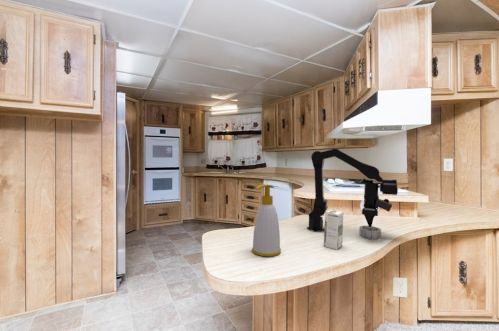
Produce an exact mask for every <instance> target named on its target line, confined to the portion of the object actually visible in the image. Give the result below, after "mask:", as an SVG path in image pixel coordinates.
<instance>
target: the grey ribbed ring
mask: <svg viewBox="0 0 499 331" xmlns="http://www.w3.org/2000/svg"><path fill="white" fill-rule="evenodd" d="M364 227H369V226H368V225H360V226H359V230H358V231H359V237H361V238H363V239H365V240H366V239H367V240H374V241H375V240H376V241H377V240H381V238H382V228H379V227H378V226H373V225H372V226H371V227H374V228H376V231H373V230H366V229H364Z"/></svg>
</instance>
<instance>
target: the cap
mask: <svg viewBox="0 0 499 331" xmlns="http://www.w3.org/2000/svg"><path fill="white" fill-rule="evenodd" d="M374 227H375V226H374ZM374 227H364V229H366V230H373V231H376V228H374Z"/></svg>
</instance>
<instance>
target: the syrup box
mask: <svg viewBox="0 0 499 331" xmlns="http://www.w3.org/2000/svg"><path fill="white" fill-rule="evenodd" d="M323 229H324V230H323V232H324V234H323V247H326V248H329V249H333V250H339V249H340V248H341V247H342V246H343V232H344V212H343V211H340V210H335V209H331V210H330V209H329V210H327V211H326V212H325V214H324V228H323Z"/></svg>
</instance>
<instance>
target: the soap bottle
mask: <svg viewBox="0 0 499 331" xmlns="http://www.w3.org/2000/svg"><path fill="white" fill-rule="evenodd" d="M262 188H263V189H264V195H261V204H260V205H259V206H258V208H257V209H258V210H257V212H256V216H255V221H254V229H253V235H252V236H253V237H252V238H253V241H252V249H251V250H252V252H253V253H254V254H255V255H256V256H260V257H275V256H277V255H279V254H281V251H282V250H281V237H280V233H281V232H280V225H279V224H280V223H279V217H278V212H277V209H276V206H275V205H274V201H273V200H274V198H273V197H274V196H272V195H271V194H270V193H271V188H272V189H275V186H274V185H271V184H264V183H263V184H259V185H258V186H256V188H255V191H256V190H257V191H259V190H261V189H262Z"/></svg>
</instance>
